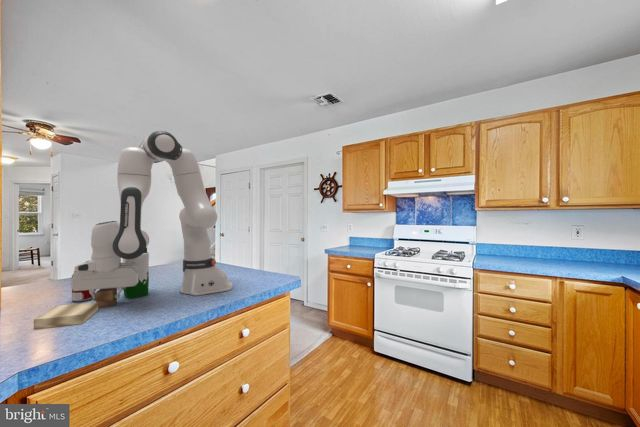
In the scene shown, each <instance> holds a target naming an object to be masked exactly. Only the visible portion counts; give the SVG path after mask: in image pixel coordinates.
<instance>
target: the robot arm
mask: <svg viewBox="0 0 640 427" xmlns="http://www.w3.org/2000/svg"><path fill="white" fill-rule="evenodd" d="M162 162H166V163H167V164H168V165H169V166H170V169H171V172H172V176H173V180H174V185H175V189H176V192H177V195H178V196H179V197H180V199H181V202H182V204H183V206H184V207H183V208H182V209H181V210H180V211H179V216H178V217H179V220H180V226H181V231H182V232H181V234H182V238H183V260H182V273H183V274H182V275H183V276H182V281H181V286H180V288H179V292H180V293H181V294H186V295H191V296H201V295H202V296H203V295H208V294H215V293H222V292H229V291H230V290H232V289H233V288H234V285H233V282H232V281H231V280H230V281H229V279H228V275H227V273H226V272H225V271H224V270H223V269H221V268H219V267H218V266H216V265H217V260H216V259H215V258H213V257H211V239H210V237H209V233H208V229H209V228H212V227H213V226H214V225H215V224H216V223H217V221H218V213H217V211H216V210H215V209H214V207H213V206H212V203H211V201H210V199H209V197H208V194H207V192H206V189H205V187H204V186H205V185H204V182H203V178H202V177H203V176H202V174H201V170H200V166H199V163H198V160H197V158H196V155H195V154H194V152H193V151H192V150H190V149H187V148H183V146H182V145H181V144H180V143H179V142H178V139H176V137H175V136H174V135H173V134H172V133H170V132H167V131H164V130H156V131H153V132H151V133H150V134H149V135H147V136H146V137H145V138H144V140H143V141H142V142H141V143H140V145H139V146H138V147H137V146H136V147H135V146H128V147H124V148H123V149H122V150H120V154H119V158H118V162H117V163H118V164H117V176H116V177H117V189H118V194H119V200H120V210H119V211H120V214H119V216H120V217H119V221H117V220H109V221H104V222H99V223H97V224H95V225H94V226H93V228H92V230H91V237H90V238H91V239H90V241H91V242H90V246H91V249H92V250H91V252H92V253H91V255H90V256H91V257H90V258H91V259H90V260H87V261H85V262H81V263H78V264H77V265H76V266H74V271H76V272H75V273H74V272H73V274H72V275H73V277H72V276H71V284H70V285H71V290H72V289H73V290H74V291H82V290H89V293H90V294H91V295H92V297H93V298H92V301H93V302H96V292H97V290H100V289H107V288H117V294H115V295H114V299H117V300H119V299H120V297H121V293H122V291H123V287H132V286H135V285H136V284H137V283H138V273H137V272H138V270H139V267H138V265H137V264H136V263H134V262H130V263H122V260H123V259H134V258H137V257H139V256H141V255H142V254H143V253H144V251H145V249H146V247H147V248H148V245H149V244H150V237H149V235H148V233H147V232H146V231H145V230H142V229H141V227H142V207H143V203H144V201H145V199H146V198H147V197H148V195H149V194H150V190H151V186H152V169H153V168H152V167H153V165H154V164H157V163H162ZM134 264H135V265H134Z"/></svg>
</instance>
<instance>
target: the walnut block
mask: <svg viewBox="0 0 640 427" xmlns="http://www.w3.org/2000/svg"><path fill="white" fill-rule="evenodd" d="M95 293H96V301H95V302H98V309H102V308H110V307H114V306H115V305H116V304H117V302H118V299H114V295H115V294H117V293H118V290H117V288H107V289H97V290H96V291H95Z"/></svg>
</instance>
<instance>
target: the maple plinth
mask: <svg viewBox="0 0 640 427" xmlns="http://www.w3.org/2000/svg"><path fill="white" fill-rule="evenodd" d="M98 311H99V308H98V302H96V301H93V302H84V303H75V304H73V303H72V304H63V305H61V304H60V305H55V306H54V307H52V308H50V309H47V311H45V312H43V313H42V314H40V315H39V316H37V317H35V318H34V319H33V330H40V329H49V328H50V329H51V328H56V327H65V326H73V325H83V324H85V322H86V321H87V320H89V319H90V318H92V316H93V315H95V314H96V313H97V312H98Z"/></svg>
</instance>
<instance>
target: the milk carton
mask: <svg viewBox="0 0 640 427" xmlns="http://www.w3.org/2000/svg"><path fill="white" fill-rule="evenodd" d="M149 260H150V253H149V252H148V246H147V247H146V249H145V251H144V253H143V254H142V255H141V256H139V257H137V258H134V259H123V258H122V260H121V263H130V262H134V263H136V264H137V265H138V267H139V270H138V272H137V273H138V283H137V284H136V285H135V286H132V287H123V290H122V291H123V295H124V296H125V298H127V299H128V300H130V299H133V298H134V299H135V298H140V297H144V296H148V295H149V284H150V279H149V278H150V276H149V274H150V272H149V269H150V268H149V267H150V266H149V265H150V264H149ZM134 265H135V264H134Z"/></svg>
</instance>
